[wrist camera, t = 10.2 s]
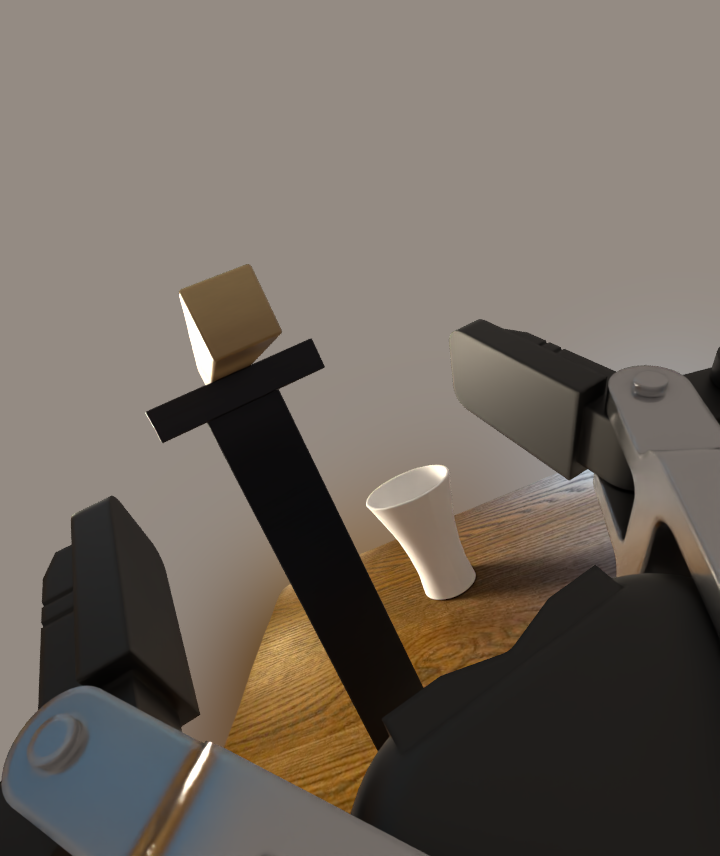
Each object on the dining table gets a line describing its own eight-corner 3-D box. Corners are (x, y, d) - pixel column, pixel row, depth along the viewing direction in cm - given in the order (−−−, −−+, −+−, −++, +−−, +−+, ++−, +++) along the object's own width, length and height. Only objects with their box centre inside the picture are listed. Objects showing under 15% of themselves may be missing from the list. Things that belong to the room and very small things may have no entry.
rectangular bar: (283, 332, 13) (250, 261, 12) (214, 362, 12) (177, 289, 12) (234, 382, 35) (222, 358, 35) (209, 393, 35) (197, 369, 35)
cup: (461, 549, 63) (422, 460, 61) (510, 573, 53) (466, 469, 51) (397, 591, 60) (353, 500, 58) (437, 625, 50) (386, 517, 48)
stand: (553, 840, 27) (321, 333, 22) (427, 953, 25) (133, 417, 20) (458, 721, 38) (284, 358, 33) (363, 793, 36) (159, 414, 30)
